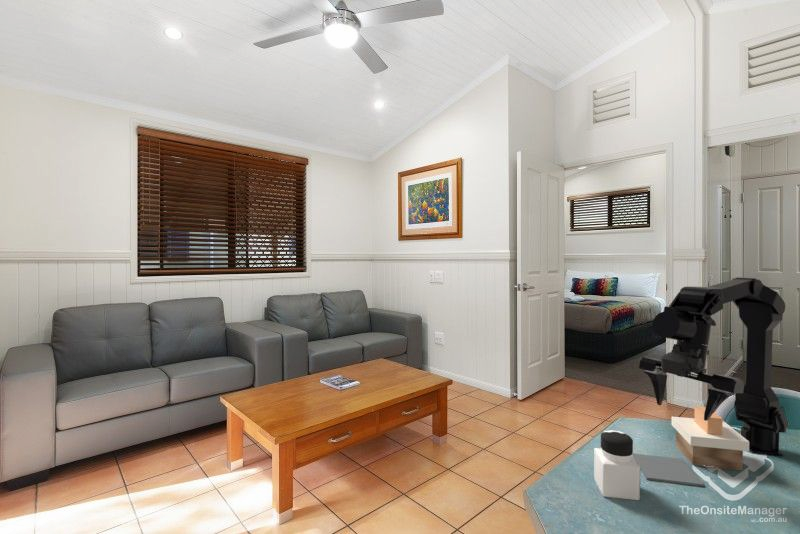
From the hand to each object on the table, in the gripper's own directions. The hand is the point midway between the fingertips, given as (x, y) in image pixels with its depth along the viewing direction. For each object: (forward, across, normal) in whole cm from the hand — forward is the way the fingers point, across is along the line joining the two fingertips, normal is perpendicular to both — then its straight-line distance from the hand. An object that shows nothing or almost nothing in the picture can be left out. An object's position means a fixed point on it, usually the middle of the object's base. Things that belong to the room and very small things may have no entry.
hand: (681, 412), depth 90 cm
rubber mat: (+15, -3, +4) cm, 15 cm away
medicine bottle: (+18, -5, -12) cm, 23 cm away
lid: (+6, 0, +17) cm, 18 cm away
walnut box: (+12, 0, +18) cm, 22 cm away
